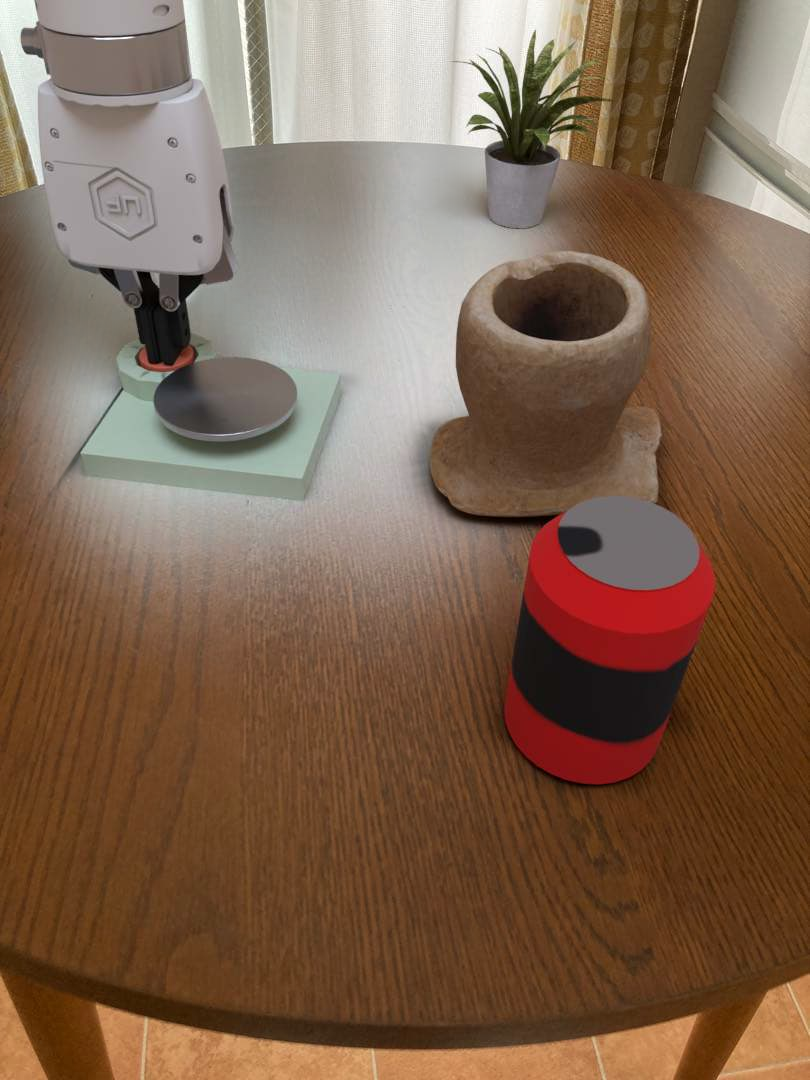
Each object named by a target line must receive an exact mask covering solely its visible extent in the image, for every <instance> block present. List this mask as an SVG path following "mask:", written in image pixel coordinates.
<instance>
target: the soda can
mask: <svg viewBox="0 0 810 1080" xmlns="http://www.w3.org/2000/svg"><path fill="white" fill-rule="evenodd" d="M523 586H524V587H523V593H522V599H521V604H520V611H519V617H518V624H517V629H516V635H515V641H514V646H513V651H512V652H513V653H512V659H511V664H510V670H509V676H508V682H507V687H506V688H507V689H506V695H505V700H504V705H503V711H504V722H505V725H506V728H507V731H508V734H509V735H510V737H511V740H512V741H513V743H514V745H515V747H517V748H518V749H519V751H520V752H521V753H522V754H523V756H525V758H527V759H528V760H529V761H530V762H532V763H533V764H534V765H535V766H536V767H538V768H540V769H542V770H543V771H545V772H547V773H548V774H550V775H553V776H555V777H557V778H561V779H562V780H566V781H569V782H573V783H579V784H583V785H604V784H612V783H613V784H614V783H617V782H620V781H623V780H626V779H629V778H631V777H632V776H635V775H636V774H637V773H639V772H642V770H643V769H644V768H645V767H647V765H648V764H650V762H651V761H652V760H653V758H654V756H655V755H656V753H657V751H658V749H659V746H660V743H661V741H662V739H663V735H664V734H665V733H664V732H665V730H666V727H667V724H668V721H669V719H670V716H671V713H672V710H673V707H674V705H675V702H676V699H677V697H678V694H679V692H680V688H681V686H682V683H683V680H684V678H685V676H686V672H687V669H688V667H689V664H690V661H691V658H692V655H693V653H694V650H695V647H696V645H697V642H698V639H699V637H700V634H701V631H702V629H703V625H704V623H705V620H706V617H707V614H708V612H709V609H710V606H711V603H712V602H713V598H714V594H715V591H716V574H715V572H714V569H713V565H712V562H711V561H710V559H709V557H708V556H707V554H706V553H705V551H704V549H703V547H702V546H701V545H700V544H699V542H698V539H697V537H696V535H695V533H694V532H693V530H692V529H691V528H690V527H689V526H688V524H686V522H684V520H682V519H681V518H680V517H679V516H678V515H676V514H675V513H674V512H672V511H670V510H668V509H667V508H665V507H663V506H660V505H659V504H657V503H655V504H654V503H651V502H648V501H645V500H641V499H638V498H632V497H626V496H603V497H596V498H592V499H588V500H585V501H583V502H580V503H578V504H576V505H575V506H573V507H572V508H570V509H569V510H568V511H566V512H565V513H563V514H559V515H556V517H554V518H553V519H551V520H550V521H548V522H546V523H545V524H544V525H543V526H542V528H541V529H539V531H538V532H536V534H535V536H534V538H533V540H532V543H531V545H530V551H529V557H528V562H527V569H526V573H525V581H524V585H523Z"/></svg>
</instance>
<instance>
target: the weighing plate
mask: <svg viewBox="0 0 810 1080" xmlns="http://www.w3.org/2000/svg"><path fill="white" fill-rule="evenodd" d="M281 368H282V367H279V366H277V365H275V364H273V363H270V362H267V361H264V360H262V359H261V360H260V359H257V358H252V357H251V358H250V357H242V356H221V357H217V358H212V359H206V360H201V361H198V362H194V363H191V364H189V365H186V366H184V367H181V368H179V369H177V370H176V371H174V372H172V373H171V374H169V375H168V376H167V377H165V378H164V379H163V380H162V381H161V383H160V384H159V385H158V386H157V388H156V390H155V393H154V397H153V404H154V409H155V413H156V415H157V417H158V419H159V420H160V421H161V422H162V423H163V424H164V425H165V426H166V427H167V428H169V429H170V430H172V431H173V432H176V433H178V434H180V435H183V436H185V437H189V438H193V439H197V440H204V441H235V440H242V439H247V438H251V437H255V436H258V435H261V434H263V433H266V432H268V431H270V430H272V429H274V428H276V427H278V426H279V425H280V424H282V423H283V422H284V421H285V420H287V419H288V418H289V417H290V415H291V414H292V413H293V411H294V409H295V407H296V404H297V388H296V385H295V382H294V381H293V379H292V378H291V377H290V376H289V375H288V374H287V373H286V372H285V371H284V370H282V369H281Z"/></svg>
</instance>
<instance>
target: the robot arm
mask: <svg viewBox="0 0 810 1080" xmlns="http://www.w3.org/2000/svg"><path fill="white" fill-rule="evenodd" d="M33 1H34V6H35V11H36V15H37V21H36V22H35V25H36V26H34V27H25V26H24V27H23V28H22V29H21V31H20V44H21V45H20V46H21V48H22V50H23V52H24V54H25V55H28V56H29V55H30V56H37V57H38V58H39V59H43V63H44V68H45V73H46V75H47V76H50V78H49V79H47V80H45V81H43V82H42V83H40V84H39V85H38V86H37V121H38V122H37V123H38V125H37V126H38V138H39V152H40V161H41V162H40V163H41V171H42V177H43V184H44V185H43V186H44V191H45V198H46V203H47V210H48V215H49V220H50V226H51V231H52V235H53V238H54V242H55V244H56V247H57V249H58V252H59V253H60V254H61V256H63V257H64V258H65V259H67V261H68V263H69V264H70V265H71V266H72V267H73V268H76V269H79V270H82V271H85V272H88V273H92V274H95V275H101V277H103V278H104V279H105V280H106V281H107V282H108V283H110V284H111V285H112V286H113V287H114V288H115V289H116V290H117V291H118V292H119V293H121V296H122V299H123V301H124V303H125V304H126V306H128V307H130V308H132V309H133V313H134V317H135V318H134V319H135V323H136V329H137V334H138V338H139V340H140V343H141V344H145V347H146V352H147V358H148V362H149V363H154V364H158V362H161V361H162V362H164V364H165V365H174V363H175V361H176V360H177V358H178V357H179V355H180V353H181V352H182V350H183V349H184V348H187V347H188V345H189V343H190V339H191V333H192V332H191V326H190V318H189V312H188V305H187V304H188V303H187V298H189V296H191V294H193V292H195V291H196V289H197V288H199V286H202V285H207V286H208V285H215V284H222V283H226V282H227V283H229V282H231V281H232V280H233V279H234V277H235V276H236V274H237V273H238V270H239V263H238V260H237V257H236V255H235V251H234V249H233V246H232V241H233V238H234V234H235V233H234V230H235V226H234V213H233V204H232V198H231V197H232V196H231V192H230V191H231V190H230V185H229V179H228V173H227V168H226V163H225V157H224V152H223V149H222V144H221V140H220V136H219V131H218V127H217V124H216V120H215V117H214V113H213V110H212V107H211V103H210V99H209V97H208V94H207V90H206V87H205V85H204V83H203V81H202V80H201V79H197V78H193V74H192V72H193V71H192V67H191V57H190V50H189V40H188V31H187V25H186V24H187V23H186V15H185V14H186V13H185V6H184V0H33ZM155 274H158V275H159V276H158V281H159V283H158V284H157V279H156V276H155Z"/></svg>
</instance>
